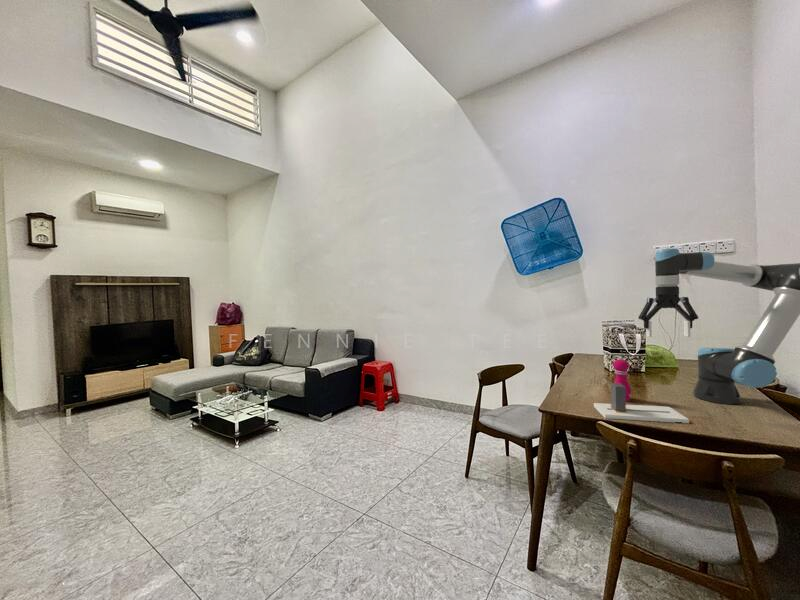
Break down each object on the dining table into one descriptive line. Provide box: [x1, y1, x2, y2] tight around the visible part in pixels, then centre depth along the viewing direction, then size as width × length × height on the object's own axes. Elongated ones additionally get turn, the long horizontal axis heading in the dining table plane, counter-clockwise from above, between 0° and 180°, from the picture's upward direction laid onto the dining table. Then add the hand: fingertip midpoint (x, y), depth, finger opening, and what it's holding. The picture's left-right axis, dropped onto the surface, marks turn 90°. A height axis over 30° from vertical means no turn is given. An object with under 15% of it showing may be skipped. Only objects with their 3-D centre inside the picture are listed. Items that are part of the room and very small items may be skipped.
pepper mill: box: [612, 356, 632, 402], centre depth 145 cm, size 7×7×20 cm
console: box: [593, 402, 690, 424], centre depth 128 cm, size 28×13×2 cm, turn 75°
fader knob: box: [610, 382, 627, 411], centre depth 130 cm, size 4×5×10 cm
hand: (667, 336), depth 132 cm, fingers open, 13 cm apart
